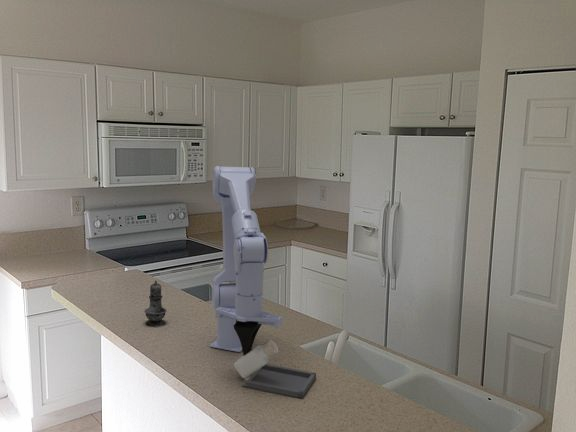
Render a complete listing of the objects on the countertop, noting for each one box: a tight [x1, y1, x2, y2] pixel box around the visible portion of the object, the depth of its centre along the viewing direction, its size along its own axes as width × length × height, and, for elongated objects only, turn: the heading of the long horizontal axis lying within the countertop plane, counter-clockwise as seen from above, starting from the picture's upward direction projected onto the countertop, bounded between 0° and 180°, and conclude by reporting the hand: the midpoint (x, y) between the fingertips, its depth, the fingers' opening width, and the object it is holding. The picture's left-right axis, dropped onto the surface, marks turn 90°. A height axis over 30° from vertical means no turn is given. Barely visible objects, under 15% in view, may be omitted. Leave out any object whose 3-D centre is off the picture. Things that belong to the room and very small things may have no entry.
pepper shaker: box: [233, 339, 279, 379], centre depth 113 cm, size 4×4×10 cm
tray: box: [241, 363, 317, 400], centre depth 113 cm, size 10×13×1 cm
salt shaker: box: [143, 280, 168, 328], centre depth 144 cm, size 6×6×12 cm
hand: (247, 354), depth 114 cm, fingers closed, pressing on pepper shaker
